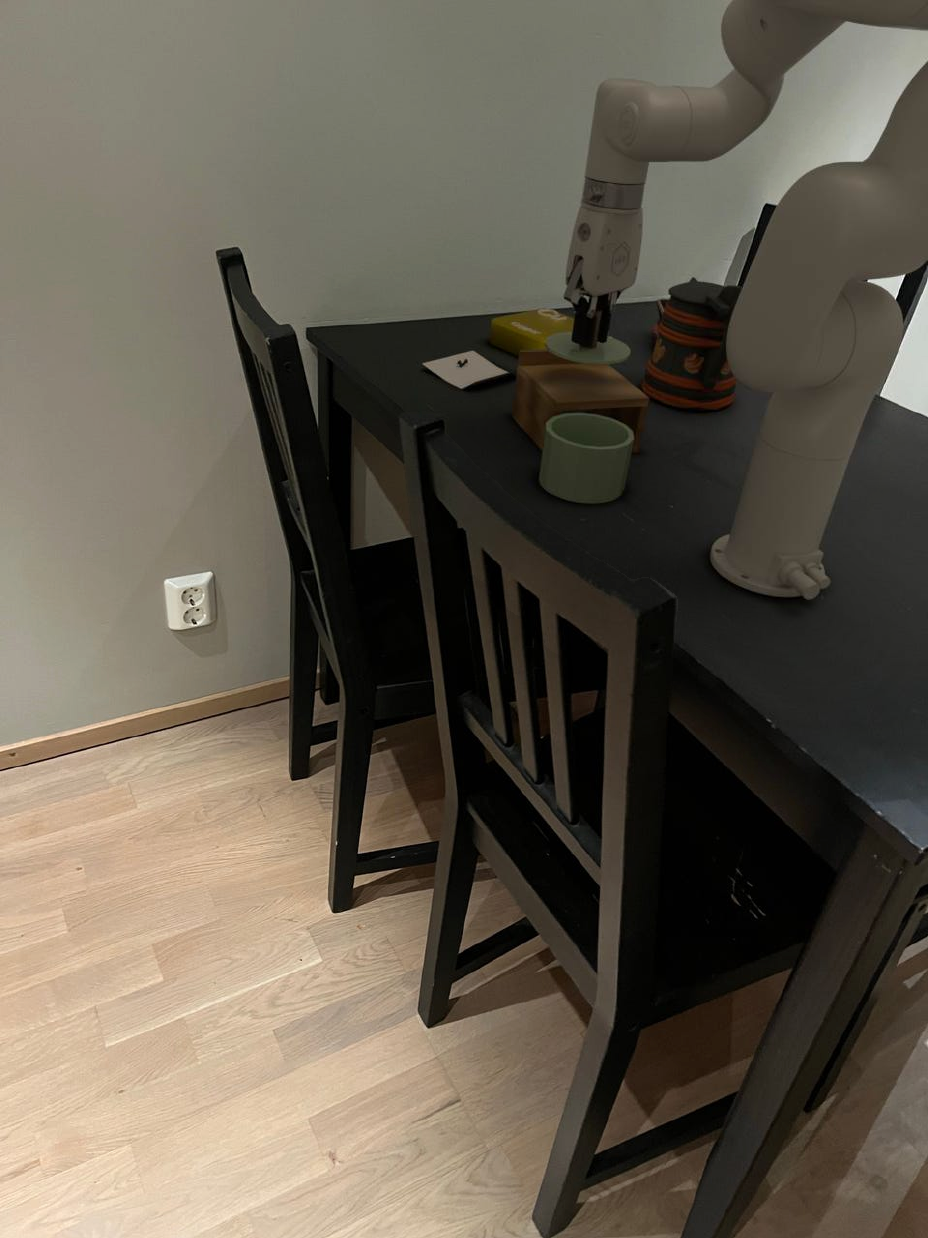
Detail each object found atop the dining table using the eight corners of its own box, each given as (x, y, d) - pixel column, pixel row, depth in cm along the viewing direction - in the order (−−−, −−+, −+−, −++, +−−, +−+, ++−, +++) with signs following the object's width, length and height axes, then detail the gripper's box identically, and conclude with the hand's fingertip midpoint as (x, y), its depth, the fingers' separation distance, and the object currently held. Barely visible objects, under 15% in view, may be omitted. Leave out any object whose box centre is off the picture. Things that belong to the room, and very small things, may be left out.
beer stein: (760, 424, 140) (797, 291, 129) (671, 424, 137) (701, 288, 126) (710, 379, 155) (740, 256, 144) (629, 378, 153) (652, 253, 141)
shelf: (638, 452, 128) (652, 383, 122) (549, 458, 124) (559, 387, 118) (595, 412, 139) (606, 347, 133) (511, 416, 135) (519, 349, 129)
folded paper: (472, 356, 155) (473, 345, 154) (525, 378, 149) (526, 367, 148) (420, 370, 148) (421, 358, 147) (473, 394, 141) (474, 381, 140)
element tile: (484, 343, 162) (486, 315, 159) (542, 330, 171) (546, 304, 168) (545, 369, 153) (549, 340, 150) (603, 354, 162) (608, 327, 159)
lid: (644, 367, 122) (653, 321, 118) (564, 370, 119) (571, 323, 115) (606, 338, 131) (614, 294, 127) (531, 340, 127) (537, 295, 124)
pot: (638, 499, 116) (649, 445, 112) (558, 506, 113) (567, 451, 108) (601, 462, 124) (610, 410, 120) (526, 467, 121) (532, 414, 117)
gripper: (597, 206, 106) (573, 362, 117) (673, 195, 116) (645, 339, 127) (547, 194, 110) (529, 345, 121) (625, 184, 120) (602, 324, 131)
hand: (588, 340), depth 124 cm, fingers closed on lid, 2 cm apart
